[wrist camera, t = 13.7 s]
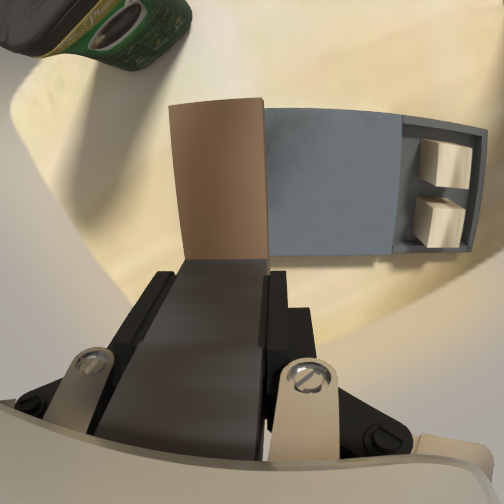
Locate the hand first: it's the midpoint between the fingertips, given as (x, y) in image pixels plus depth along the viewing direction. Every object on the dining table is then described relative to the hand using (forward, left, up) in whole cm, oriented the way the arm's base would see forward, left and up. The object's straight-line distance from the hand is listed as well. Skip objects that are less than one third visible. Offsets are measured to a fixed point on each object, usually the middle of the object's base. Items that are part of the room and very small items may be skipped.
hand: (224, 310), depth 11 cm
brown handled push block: (0, 0, -4) cm, 4 cm away
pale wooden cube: (-17, +3, -19) cm, 25 cm away
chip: (-17, -3, -19) cm, 25 cm away
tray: (-19, 0, -22) cm, 29 cm away
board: (-4, 0, -22) cm, 22 cm away
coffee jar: (+10, -17, -22) cm, 30 cm away
